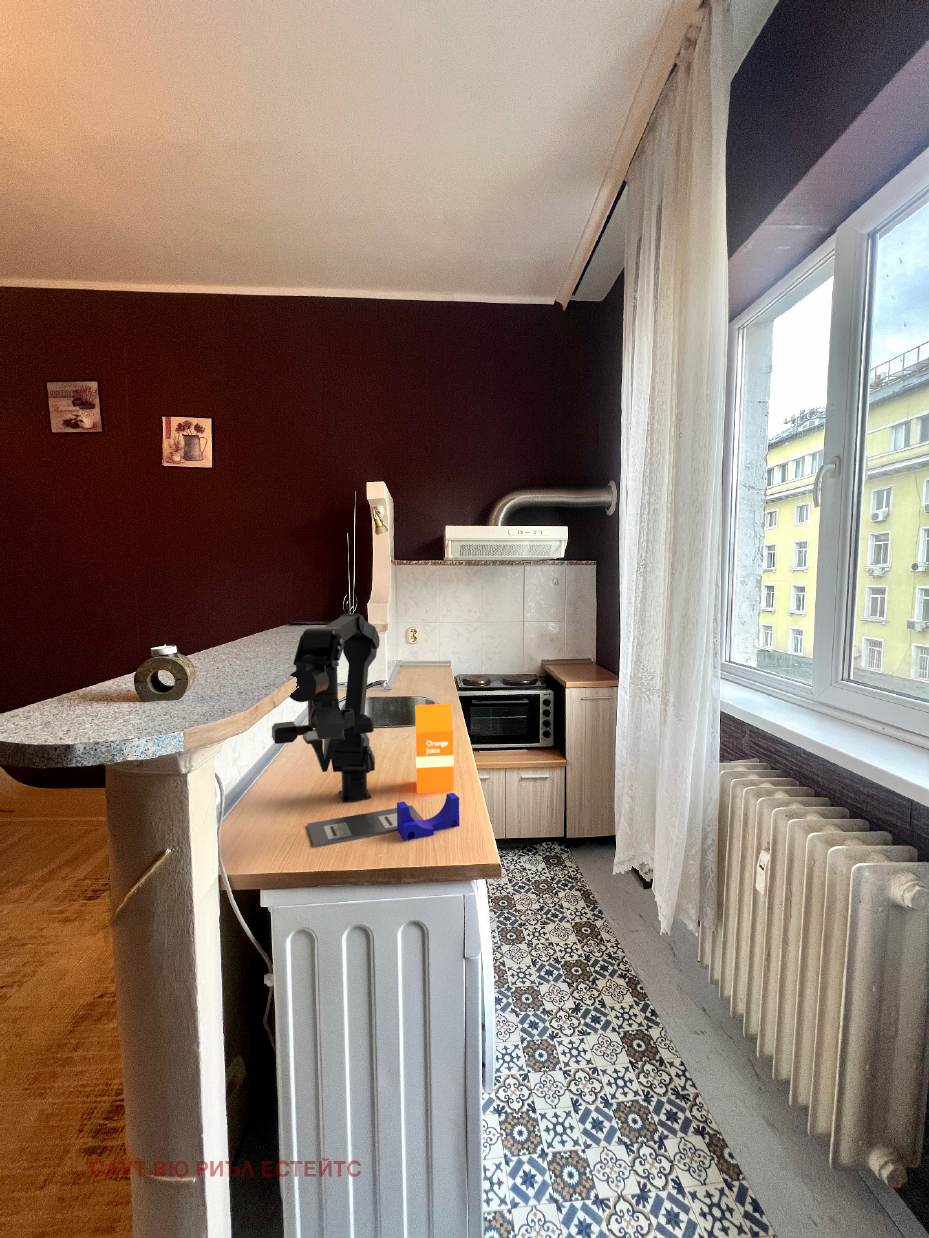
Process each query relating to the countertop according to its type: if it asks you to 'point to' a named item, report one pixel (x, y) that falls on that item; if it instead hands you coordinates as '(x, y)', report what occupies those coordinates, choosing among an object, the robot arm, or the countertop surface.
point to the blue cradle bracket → (427, 820)
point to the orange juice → (434, 748)
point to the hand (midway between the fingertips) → (324, 771)
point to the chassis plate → (355, 826)
